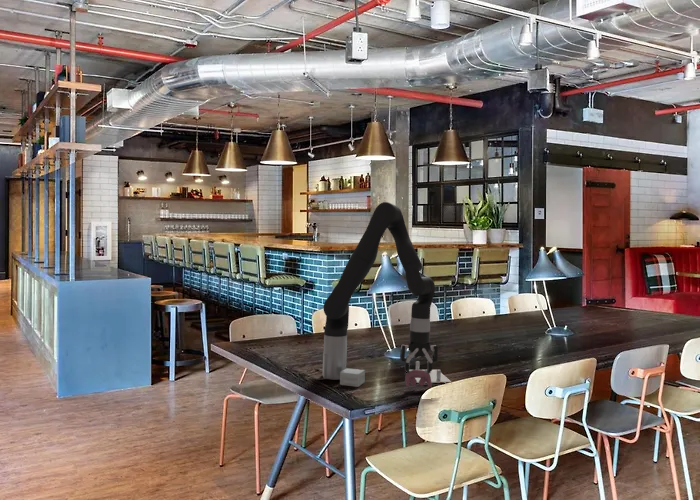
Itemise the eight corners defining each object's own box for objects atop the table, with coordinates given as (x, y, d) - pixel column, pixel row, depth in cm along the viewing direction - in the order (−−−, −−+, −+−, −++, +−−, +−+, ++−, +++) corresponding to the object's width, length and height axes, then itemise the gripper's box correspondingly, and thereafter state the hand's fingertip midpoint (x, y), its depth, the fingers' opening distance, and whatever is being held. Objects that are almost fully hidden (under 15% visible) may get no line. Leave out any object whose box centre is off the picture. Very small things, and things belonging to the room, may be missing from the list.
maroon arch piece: (430, 389, 240) (429, 371, 242) (432, 387, 235) (431, 368, 238) (404, 388, 239) (404, 370, 242) (405, 386, 235) (405, 367, 238)
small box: (365, 382, 248) (365, 369, 248) (358, 387, 241) (358, 374, 241) (346, 380, 251) (346, 367, 251) (339, 385, 244) (339, 371, 243)
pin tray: (416, 384, 247) (417, 371, 247) (405, 372, 267) (405, 360, 267) (451, 384, 249) (451, 371, 249) (437, 371, 269) (438, 360, 268)
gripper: (403, 331, 234) (401, 374, 235) (441, 331, 236) (439, 375, 237) (399, 327, 241) (397, 369, 242) (435, 328, 243) (433, 370, 244)
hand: (418, 372), depth 239 cm, fingers closed on maroon arch piece, 7 cm apart
